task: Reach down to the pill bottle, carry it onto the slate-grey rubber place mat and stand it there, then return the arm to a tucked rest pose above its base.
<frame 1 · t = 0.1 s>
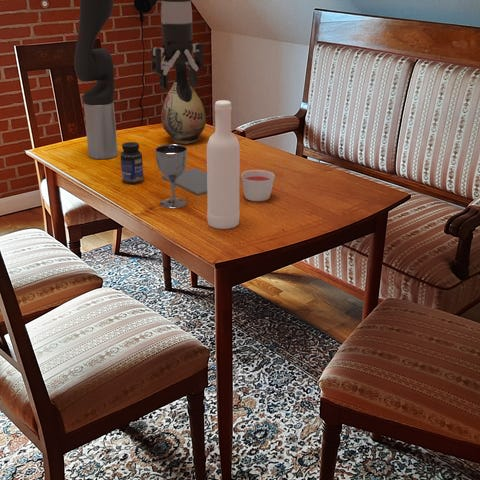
hand: (178, 87, 159), 29 cm above the table, fingers open, 8 cm apart
ceramic jug: (184, 141, 217), on the table
bottle: (223, 223, 154), on the table
pill bottle: (133, 181, 181), on the table
place mat: (196, 181, 180), on the table
wine glass: (173, 203, 165), on the table
candle: (257, 197, 170), on the table
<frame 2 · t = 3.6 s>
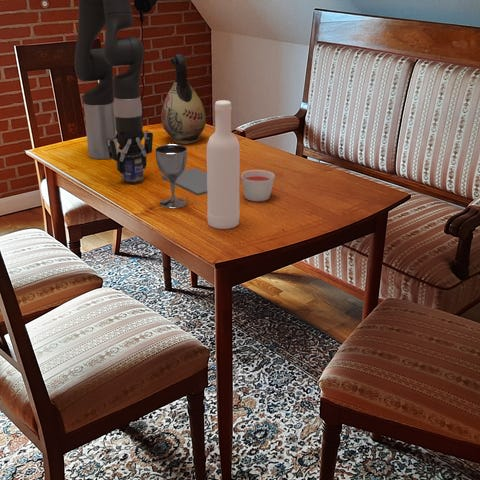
hand: (132, 170, 179), 3 cm above the table, fingers closed on pill bottle, 6 cm apart
pill bottle: (133, 181, 181), on the table, touching gripper
everything else where it was.
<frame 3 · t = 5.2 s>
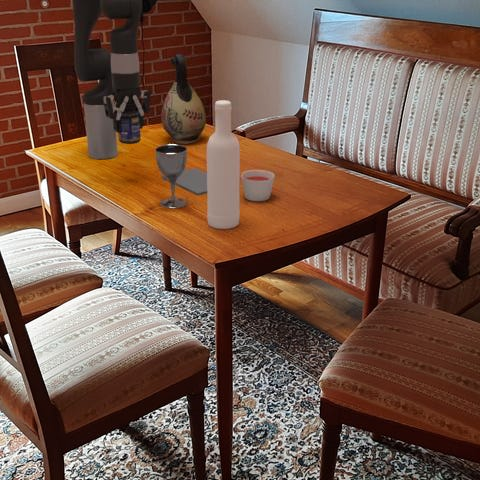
hand: (129, 130, 174), 15 cm above the table, fingers closed on pill bottle, 6 cm apart
pill bottle: (129, 142, 176), point 12 cm above the table, touching gripper
everything else where it was.
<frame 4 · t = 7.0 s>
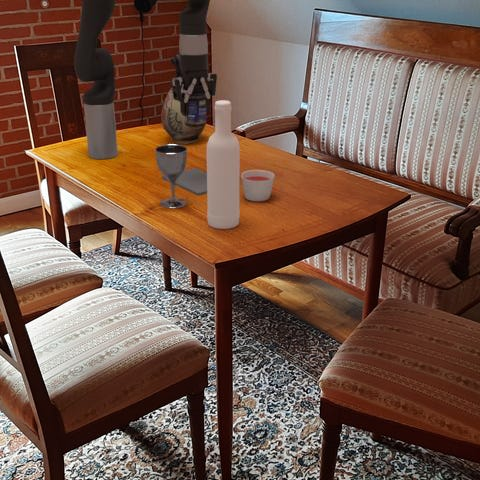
hand: (195, 113, 173), 20 cm above the table, fingers closed on pill bottle, 6 cm apart
pill bottle: (195, 125, 174), point 16 cm above the table, touching gripper
everything else where it was.
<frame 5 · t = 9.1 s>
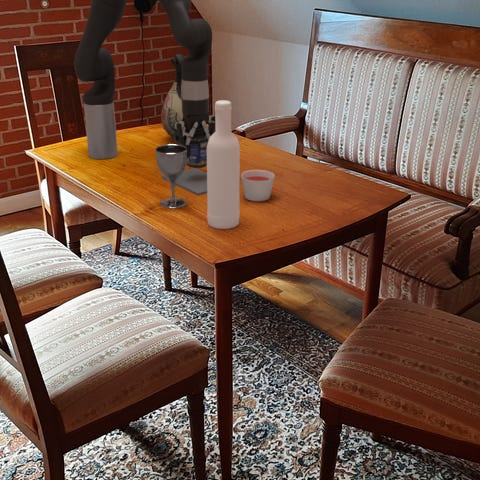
hand: (196, 154, 178), 8 cm above the table, fingers closed on pill bottle, 6 cm apart
pill bottle: (196, 165, 180), point 4 cm above the table, touching gripper
everything else where it was.
when the fingers open (5 cm above the table, at t = 10.7 s): pill bottle drops 1 cm, resting on place mat.
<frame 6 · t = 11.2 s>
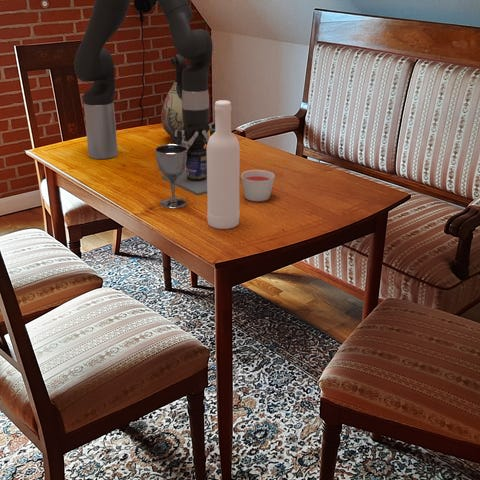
hand: (196, 161, 179), 6 cm above the table, fingers open, 8 cm apart
pill bottle: (196, 178, 181), resting on place mat
everything else where it was.
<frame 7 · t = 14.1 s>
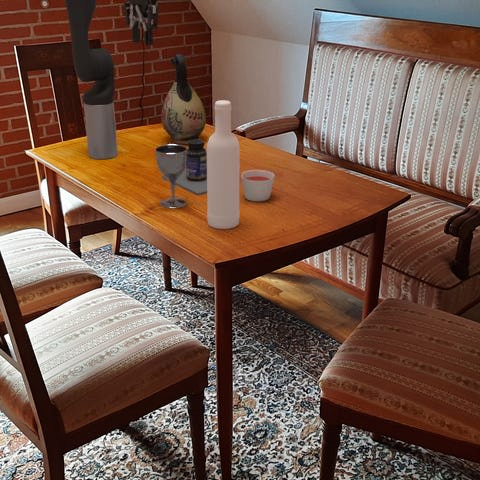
hand: (142, 43, 170), 38 cm above the table, fingers open, 5 cm apart
nothing on the table moved.
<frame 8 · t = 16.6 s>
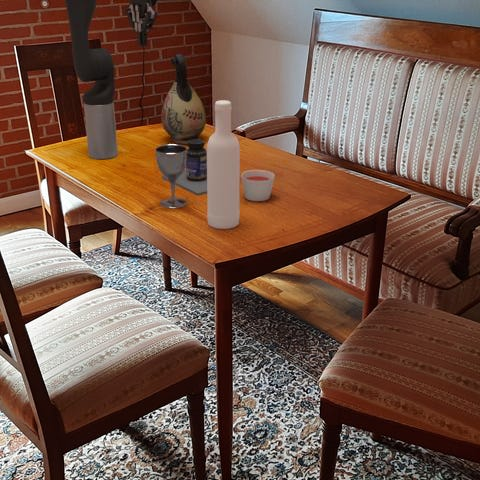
hand: (142, 45, 170), 37 cm above the table, fingers closed
nothing on the table moved.
at the end: pill bottle inside the target area on the place mat (1.5 cm from its centre), point 0.4 cm above the place mat's base; pill bottle tilted 0°; the gripper is holding nothing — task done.
